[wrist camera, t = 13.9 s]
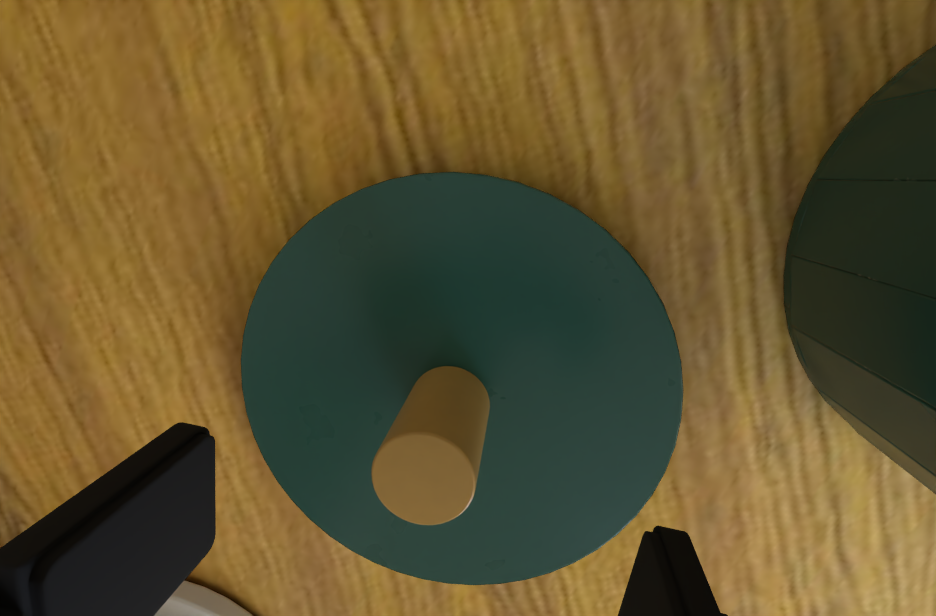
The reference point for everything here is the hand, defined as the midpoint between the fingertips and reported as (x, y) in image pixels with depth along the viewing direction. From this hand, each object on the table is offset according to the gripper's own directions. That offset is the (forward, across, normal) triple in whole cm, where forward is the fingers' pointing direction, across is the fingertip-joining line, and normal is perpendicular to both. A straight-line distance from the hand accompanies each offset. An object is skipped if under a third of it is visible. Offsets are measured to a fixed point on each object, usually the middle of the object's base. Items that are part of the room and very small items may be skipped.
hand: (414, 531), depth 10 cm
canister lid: (+7, 0, +1) cm, 8 cm away
